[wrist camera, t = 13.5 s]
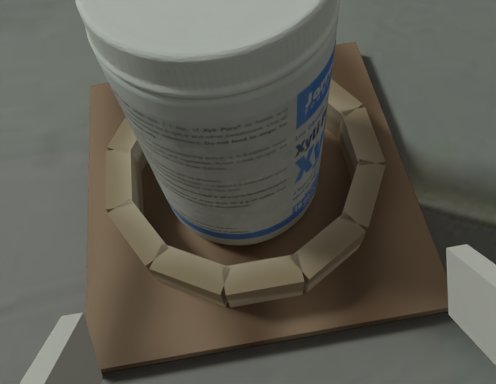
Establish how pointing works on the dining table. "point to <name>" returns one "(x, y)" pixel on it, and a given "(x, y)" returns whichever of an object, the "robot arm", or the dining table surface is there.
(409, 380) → the dining table surface
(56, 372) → the robot arm
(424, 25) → the dining table surface
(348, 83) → the ring holder
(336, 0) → the supplement tub
